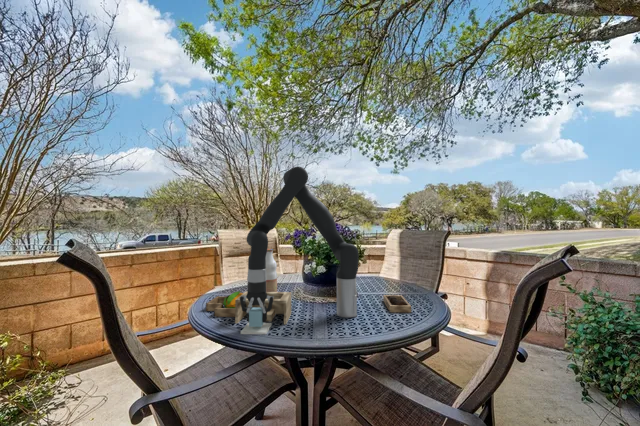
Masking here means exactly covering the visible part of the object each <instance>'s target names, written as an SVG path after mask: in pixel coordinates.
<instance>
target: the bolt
mask: <svg viewBox="0 0 640 426" xmlns="http://www.w3.org/2000/svg"><path fill="white" fill-rule="evenodd" d="M387 299H388V300H389V302H390V303H391V305H404V306H407V304H406V302H405V301H404V300H402V301H398V300H397V299H396V297H387Z"/></svg>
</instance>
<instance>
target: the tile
mask: <svg viewBox="0 0 640 426" xmlns="http://www.w3.org/2000/svg"><path fill="white" fill-rule="evenodd" d="M272 325H273V323H272V322H264V324H263V325H262V327H249V322H247V324H246V325H245V326H244V327H243V328H242V330H240V335H257V336H258V335H259V336H260V335H261V336H263V335H266V336H267V333H268V332H269V330H270V329H271V327H272Z"/></svg>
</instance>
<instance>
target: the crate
mask: <svg viewBox="0 0 640 426" xmlns="http://www.w3.org/2000/svg"><path fill="white" fill-rule="evenodd" d="M242 293H243V294H242V295H244V296H245V295H247V293H248V292H247V291H244V292H242ZM266 293H267V295H268V296H274V300H273V304H272V309H271V310H270V312H267V320H266V321H265V322H266V323H272V321H273V320H274V318H275V317H276V315H283V325H287V324H288V321H289V319H290V317H291V316H292V292H291V291H290V292H289V291H277V292H266ZM242 295H241V296H242ZM241 296H240V297H241ZM240 297H238V298H237V299H236V300H235V317H234V319H235V320H234V321H235V322H234V323H235V324H239V323H240V322H241V320H242V319H243V318H244V317H245V316H247V312H245V311H242V307H241V303H240ZM245 301H246V306H247V308H248V305H249V303H250V302H249V300H248V299H247V298H246V300H245ZM265 304H266V308H268V305H269V301H268V299H267V298H266V300H265ZM253 307H257V308H261V307H260V305H253V306H252V308H253Z"/></svg>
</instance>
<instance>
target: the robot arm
mask: <svg viewBox="0 0 640 426" xmlns="http://www.w3.org/2000/svg"><path fill="white" fill-rule="evenodd" d="M282 179H283V183H284V185H283V187H282V188H281V190H280V191H279V193H278V194H277V195H276V197H274V199H273V200H272V201H270V202H271V203H270V204H269V205H268V206H267V207H266V208H265V211H264V212H263V213H262V214H261V216H260V218H259V219H258V221H257V222H256V223H255V224H254V226H252V228H251V229H250V230H249V232H248V233H247V236H246V243H247V244H248V246H250V254H249V256H248V259H247V260H248V261H247V265H248V266H247V278H246V279H247V282H246V283H247V288H246V289H247V291H246V292H248V293H247V295H245V296H244V295H242V296H241V297H240V303H241V307H242V311H245V312H247V314H246V320H247V323H249V311H250V310H251V309H252V306H253V305H260V307H261V309H262V311H263V313H262V322H264V323H266V322H267V321H266V320H267V312H270V310H271V309H272V304H273V300H274V296H268V295H267V293H266V254H267V249H269V248H268V246H269V238H268V233H269V232H270V231H272V230H273V229H275V227H276V226H277V224H278V223H279V221H280V220H281V218H282V216H283V215H284V213H285V211H287V208H288V207H289V205H290V204H291V202H292V201H293V199H294V198H295V199H296V200H297V201H298V203H299V204H300V206H301V207H302V209H303V210H304V212H305V214H306V215H307V217H308V218H309V220H310V221H311V222H312V223H313V226H315V228H316V229H317V231H318V232H319V233H320V235H321V236H322V238H323V239H324V240H325V242H326V243H327V245H328V247H329V248H330V250H331V252H332V254H333V256H334V257H335V259H336V260H338V262H339V269H338V270H337V271H336V315H337V316H338V317H341V318H354V317H358V304H357V303H358V301H357V300H358V295H357V275H358V271H359V251H358V247H357V246H356V245H354V244H352V243H348V242H346V241H345V240H344V238H343V237H342V236H341V235H340V233H339V231H338V228H337V226H336V225H337V224H336V221H335V219H334V216H333V214H332V213H331V212H330V210H329V208H328V207H327V206H326V205H325V204H324V203H323V202H322V201H321V200H320V199H319V198H318V197H316V196H315V195H314V194H313V193H312V192H311V191H310V189H309V188H308V186H307V183H308V181H309V174H308V171H307V170H306V169H305V168H304V167H302V166H294V167H292V168H290V169H288V170H286V172H284V174H283V177H282ZM246 298H247V299H248V300H249V302H250V303H249V305H248V308H247V306H246V301H245V300H246ZM266 298H267V299H268V301H269V305H268V308H266V304H265V300H266Z"/></svg>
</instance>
